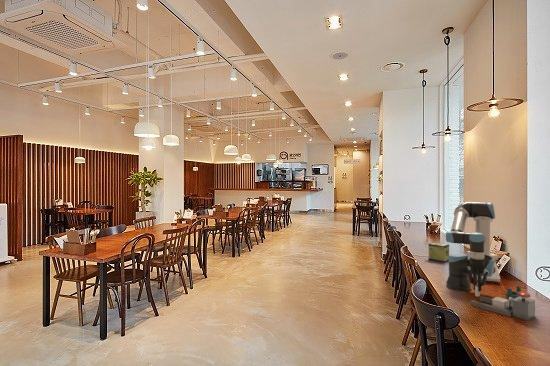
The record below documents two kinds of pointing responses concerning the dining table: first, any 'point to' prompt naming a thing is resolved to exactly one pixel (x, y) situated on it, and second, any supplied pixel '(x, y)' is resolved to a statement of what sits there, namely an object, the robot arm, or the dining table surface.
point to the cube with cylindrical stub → (499, 302)
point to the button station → (522, 306)
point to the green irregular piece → (512, 293)
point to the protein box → (439, 252)
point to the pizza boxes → (495, 273)
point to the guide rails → (489, 307)
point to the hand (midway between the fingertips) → (477, 295)
